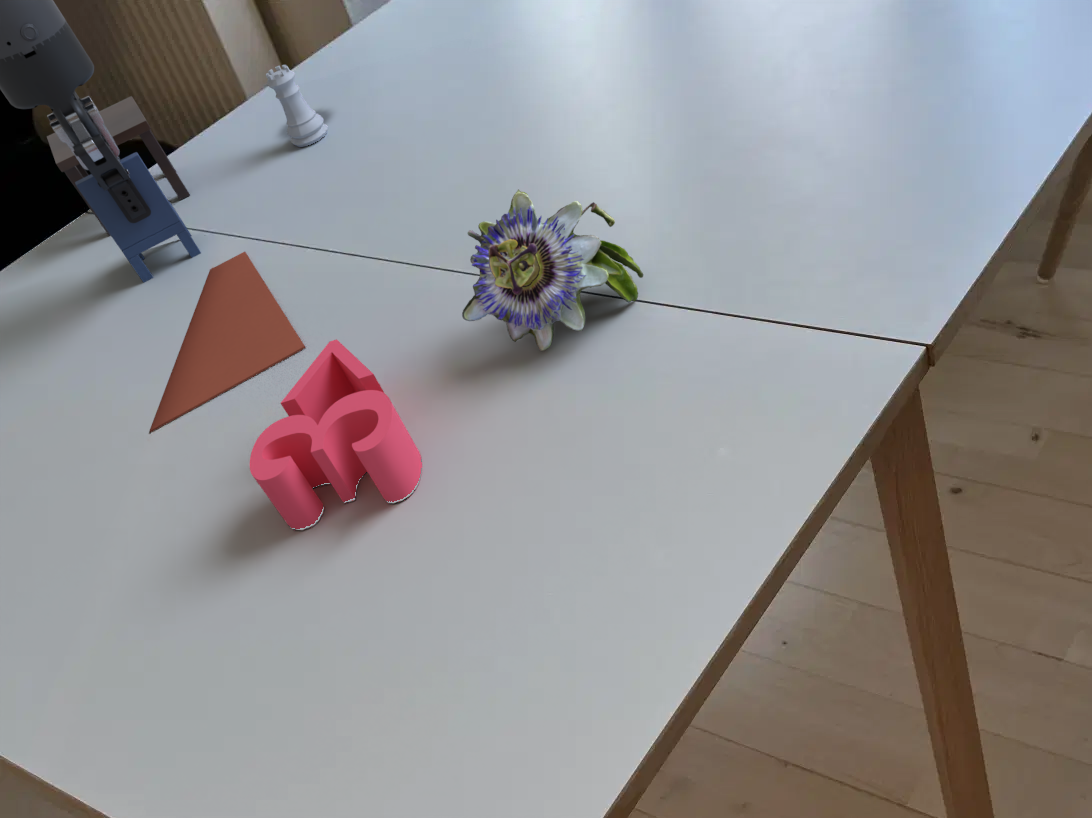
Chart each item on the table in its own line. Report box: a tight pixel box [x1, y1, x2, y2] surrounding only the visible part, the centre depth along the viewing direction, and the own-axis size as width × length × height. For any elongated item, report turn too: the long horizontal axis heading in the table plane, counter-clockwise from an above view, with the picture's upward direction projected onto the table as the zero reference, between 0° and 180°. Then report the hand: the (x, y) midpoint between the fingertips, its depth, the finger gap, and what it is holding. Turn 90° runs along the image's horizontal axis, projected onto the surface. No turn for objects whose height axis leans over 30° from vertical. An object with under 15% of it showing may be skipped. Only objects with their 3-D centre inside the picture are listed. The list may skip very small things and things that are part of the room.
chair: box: [75, 151, 202, 283], centre depth 105 cm, size 6×6×12 cm
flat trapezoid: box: [148, 251, 307, 433], centre depth 98 cm, size 22×14×1 cm, turn 30°
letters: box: [249, 338, 423, 529], centre depth 78 cm, size 14×10×5 cm
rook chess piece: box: [265, 64, 329, 148], centre depth 121 cm, size 4×4×8 cm
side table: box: [46, 95, 191, 237], centre depth 121 cm, size 10×10×9 cm
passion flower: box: [461, 189, 644, 352], centre depth 83 cm, size 11×11×12 cm
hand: (140, 215), depth 102 cm, fingers closed on chair, 1 cm apart
